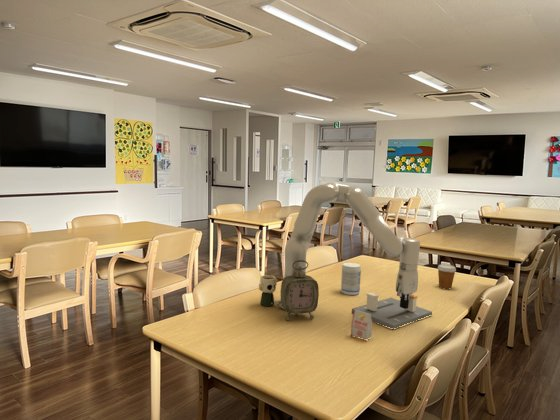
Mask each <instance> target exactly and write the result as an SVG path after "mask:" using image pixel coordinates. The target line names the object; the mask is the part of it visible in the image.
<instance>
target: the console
mask: <svg viewBox="0 0 560 420" xmlns="http://www.w3.org/2000/svg"><path fill="white" fill-rule="evenodd" d="M366 305H367V304H363V305H361V306H357V307H353V308H351V314H353V315H354V310H358V311H362V312H365V313H369V314H371V319H372V321H373V322H372V323H375V322H376V323H375V324H377V323H379V324H381V325H380V326H382V325H384V326H387V327H390V328H393V329H394V328H397V327H399V326H402V325H404V324H407V323H410V322H413V321H416V320H418V319H421V318H424V317H426V316H429V315H432V316H433V311H432V310H431V311H430V310H428V309H425V308H422V307H419V306H417V305H416V311H414V312H411V311H408V310H405V309H404V308H401V307H400V299H396V298H393V297H387V298H385V299H382V300H381V299H380V300H378V303H377V310H376V311H372V310H369V309H366ZM379 324H378V325H379ZM384 326H383V327H384ZM387 327H386V328H387Z"/></svg>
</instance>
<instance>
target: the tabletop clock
mask: <svg viewBox="0 0 560 420" xmlns="http://www.w3.org/2000/svg"><path fill="white" fill-rule="evenodd" d="M296 262H305V263H306V267H305V268H302V267H299V268H295V267H294V266H293V265H294V264H295V263H296ZM293 265H292V267H293V268H294V269H296V270H298V271H296V272H295V273H294V275H291V276H286V277H283V279H282V281H281V284H280V300H281V303H282V306H283V307H284V308H285V309H284V310H285V311H286V312H287V316H286V317H285V321H287V322H289V320H290V315H291V314H293V315H294V316H295V317H297V316H298V315H302V314H309V319H310V320H313V319H314V315H313V314H311V313H313V312H315V311H316V310H317V308H318V303H319V296H320V294H319V289H320V288H319V284H318V281H317V280H316V279H314V278H313V277H312V276H310V275H307V274H305V272H304V271H301V270H304V269H308V268H309V262H307V260H306V261H304V260H297V261H295V262H294V263H293Z"/></svg>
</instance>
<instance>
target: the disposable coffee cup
mask: <svg viewBox="0 0 560 420" xmlns="http://www.w3.org/2000/svg"><path fill="white" fill-rule="evenodd" d="M437 270H438V271H437V272H438V288H440V287H441V288H440V289H442V288H446V289H445V290H449V289H448V288H451V289H452V286H453V283H454V279H455V274H456V272H457V269H456V267H455V266H454V265H451V264H443V263H442V264H438V266H437Z"/></svg>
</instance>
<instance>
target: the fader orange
mask: <svg viewBox="0 0 560 420" xmlns="http://www.w3.org/2000/svg"><path fill="white" fill-rule="evenodd" d="M417 299H418V295H415V294H411V295H410V299H408V300H409V304H408V308H407V309H405V310H408V311H411V312H414V311H416V306H417Z"/></svg>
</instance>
